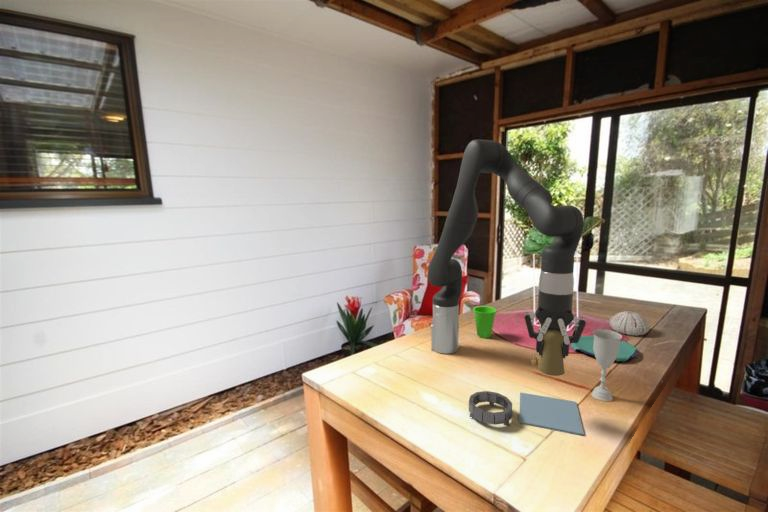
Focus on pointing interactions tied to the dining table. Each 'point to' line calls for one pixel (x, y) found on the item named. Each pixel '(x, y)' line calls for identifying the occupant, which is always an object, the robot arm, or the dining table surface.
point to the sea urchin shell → (629, 323)
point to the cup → (484, 320)
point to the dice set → (534, 360)
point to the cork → (552, 354)
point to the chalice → (605, 358)
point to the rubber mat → (550, 413)
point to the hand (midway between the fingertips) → (551, 355)
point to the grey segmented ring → (491, 398)
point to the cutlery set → (587, 347)
